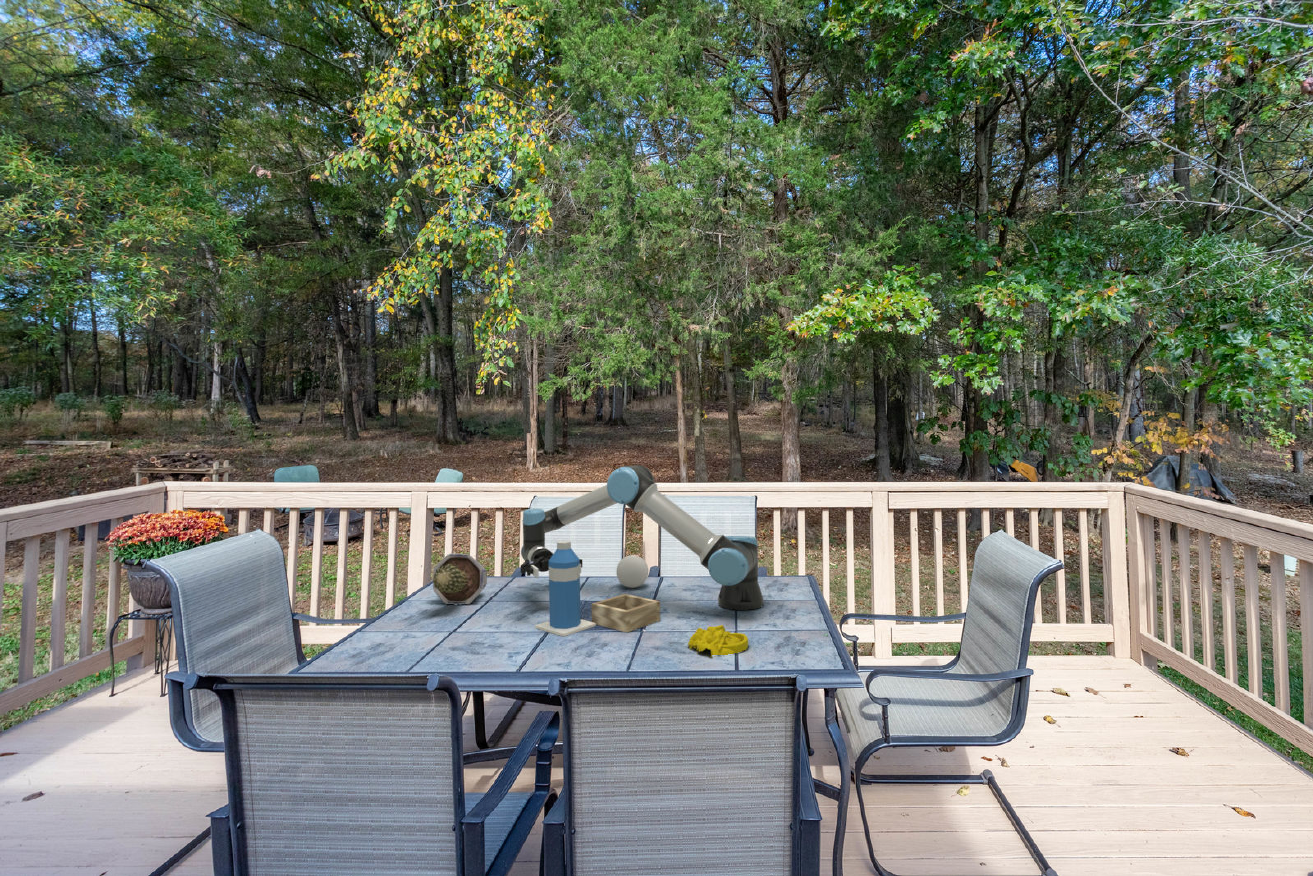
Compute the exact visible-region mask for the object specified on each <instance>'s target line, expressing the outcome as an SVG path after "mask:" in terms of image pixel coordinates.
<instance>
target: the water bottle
mask: <svg viewBox="0 0 1313 876" xmlns="http://www.w3.org/2000/svg"><path fill="white" fill-rule="evenodd" d="M548 593H549V594H548V602H549V607H548V608H549V610H548V611H549V621H550V626H552V627H554V628H559V629H568V628H573V627H577V626H578V625H579V624H580V623H581V618H582V616H581V613H582V611H581V573H580V558H579V556H578V555H577V554H576V553H575V552H574V550H573V548H572V542H571V541H570V540H561V541H560V540H558V541H557V542H556V550H555V551H554V552H553V555H552V557H551V558H550V560H549V570H548Z"/></svg>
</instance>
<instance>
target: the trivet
mask: <svg viewBox="0 0 1313 876" xmlns="http://www.w3.org/2000/svg"><path fill="white" fill-rule="evenodd" d="M596 626H597V624H596V623H593V622H592V621H589V620H585V619H581V623H580V624H579V625H578V626H577V627H573V628H568V629H559V628H554V627H552V626H550V620H549V621H545V622H542V623H538V624H535V625H534V629H536V628H538V629H537V630H540V631H544V632H547V633H549V634H553V635H557V636H560V637H566V636H570V635H572V634H573V635H574V634H576V633H579V632H582V631H584V630H588V629H591V628H594V627H596Z"/></svg>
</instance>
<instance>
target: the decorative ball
mask: <svg viewBox="0 0 1313 876" xmlns="http://www.w3.org/2000/svg"><path fill="white" fill-rule="evenodd" d="M648 576H649V567H648V563H647V561H646V560H645V559H643V558H642V557H640V556H639V555H633V554H632V555H627V556H624V557H623V558H622V559H620V561H619V562H618V563H617V566H616V578H617V579H618V582H619V583H620V584H621V585H622V586H624V587H626V588H629V589H637V588H639V587H641V586H642V585H644V583H645V582H646V581H647V579H648Z"/></svg>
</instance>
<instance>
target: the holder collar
mask: <svg viewBox="0 0 1313 876" xmlns="http://www.w3.org/2000/svg"><path fill="white" fill-rule="evenodd" d="M590 606H591V609H590V611H591V612H590V613H591V622H593V623H596V626H600V627H605V628H609V629H613V630H616V631H619V632H623V633H626V632H627V633H630V632H633V631H636V630H638V628H639V629H641V628H644V627H647V626H649V624H650V625H652V624H655V623H657V622H661V601H659V600H655V599H651V598H646V597H642V596H636V595H633V594H627V593H623V594H620V595H616V596H613V597H609V598H607V599H603V600H599V601H596V602H593V603H591V605H590ZM640 627H641V628H640Z"/></svg>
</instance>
